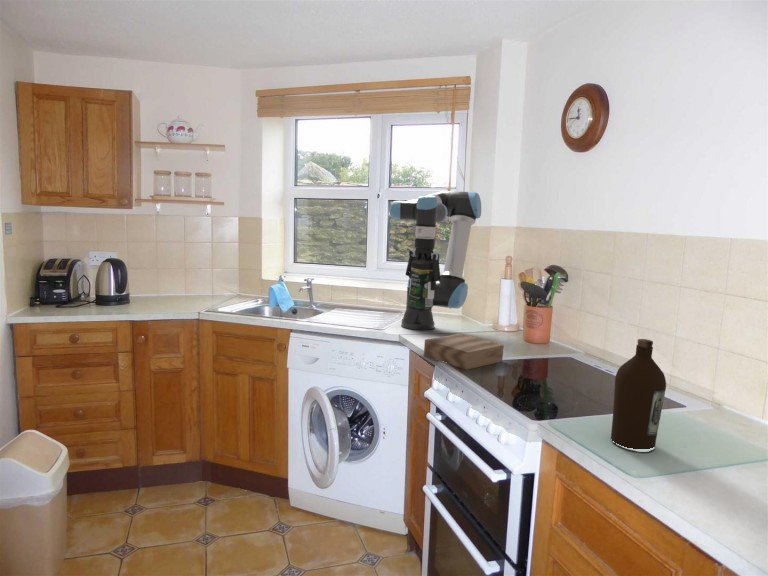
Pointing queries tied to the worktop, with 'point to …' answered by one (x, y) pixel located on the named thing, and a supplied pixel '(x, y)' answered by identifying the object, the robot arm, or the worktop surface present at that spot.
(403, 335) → the worktop surface
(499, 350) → the block
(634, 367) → the olive oil
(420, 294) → the coffee jar
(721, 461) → the worktop surface
